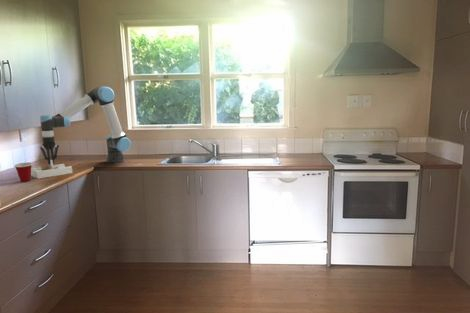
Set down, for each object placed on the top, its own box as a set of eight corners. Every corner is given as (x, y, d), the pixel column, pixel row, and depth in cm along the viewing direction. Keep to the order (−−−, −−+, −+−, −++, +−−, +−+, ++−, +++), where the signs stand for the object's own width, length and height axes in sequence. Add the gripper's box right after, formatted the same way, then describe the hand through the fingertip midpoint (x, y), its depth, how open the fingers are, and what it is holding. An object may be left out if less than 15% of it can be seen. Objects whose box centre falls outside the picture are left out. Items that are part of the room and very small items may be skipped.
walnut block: (49, 170, 265) (49, 165, 264) (52, 171, 261) (51, 165, 260) (41, 171, 261) (41, 166, 260) (44, 172, 257) (43, 167, 257)
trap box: (64, 170, 280) (63, 163, 279) (72, 172, 269) (71, 166, 268) (30, 175, 264) (29, 168, 263) (37, 178, 252) (36, 171, 251)
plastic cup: (14, 183, 239) (11, 166, 237) (18, 180, 249) (16, 163, 247) (32, 182, 242) (30, 164, 240) (36, 178, 252) (34, 161, 250)
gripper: (55, 135, 266) (59, 166, 270) (36, 137, 257) (40, 169, 261) (59, 136, 261) (62, 167, 265) (40, 137, 252) (43, 170, 256)
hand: (51, 168), depth 263 cm, fingers closed
